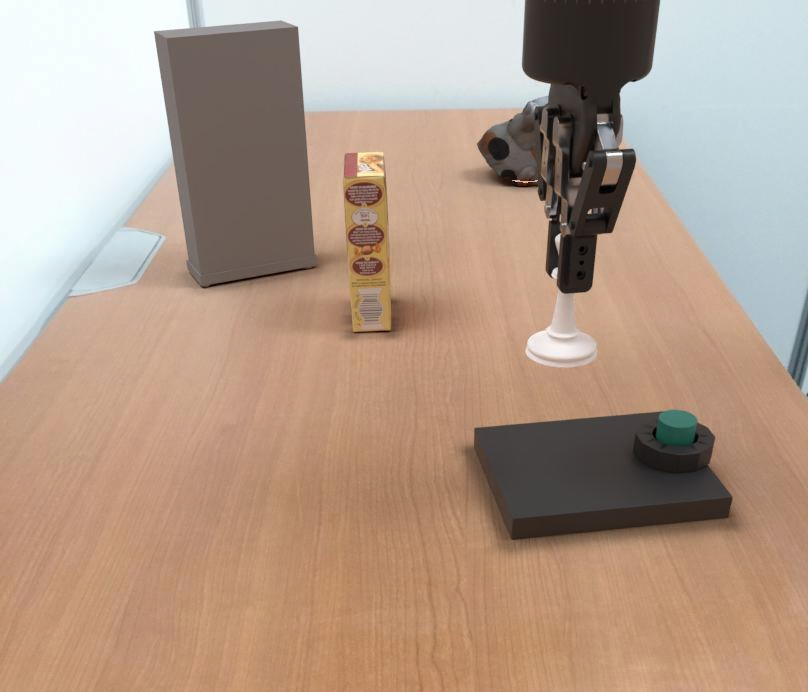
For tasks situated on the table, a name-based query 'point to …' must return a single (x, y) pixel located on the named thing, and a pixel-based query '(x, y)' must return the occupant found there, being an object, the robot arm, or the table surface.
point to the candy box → (367, 240)
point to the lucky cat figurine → (513, 146)
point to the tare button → (676, 428)
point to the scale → (597, 475)
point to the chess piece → (562, 336)
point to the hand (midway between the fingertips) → (567, 282)
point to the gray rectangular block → (239, 148)
